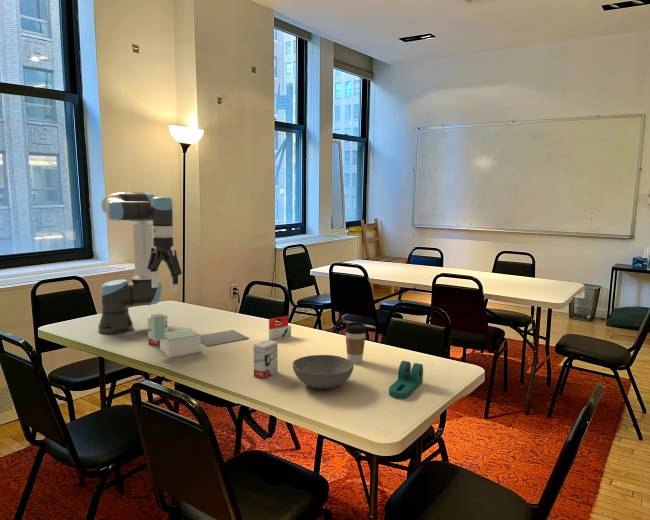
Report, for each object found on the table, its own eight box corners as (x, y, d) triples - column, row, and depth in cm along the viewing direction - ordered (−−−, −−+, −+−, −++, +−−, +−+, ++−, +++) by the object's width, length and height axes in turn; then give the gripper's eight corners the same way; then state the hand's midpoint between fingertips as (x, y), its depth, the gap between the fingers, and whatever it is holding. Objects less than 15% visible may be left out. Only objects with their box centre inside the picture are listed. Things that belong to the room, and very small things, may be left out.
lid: (148, 337, 201) (148, 313, 200) (189, 331, 212) (189, 307, 210) (157, 344, 193) (156, 319, 191) (199, 337, 203) (199, 313, 202)
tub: (160, 350, 205) (159, 334, 204) (190, 345, 213) (190, 329, 212) (169, 358, 196) (169, 341, 195) (200, 352, 204) (200, 335, 203)
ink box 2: (263, 379, 176) (263, 347, 174) (252, 376, 179) (252, 344, 177) (278, 372, 183) (278, 341, 182) (267, 369, 186) (267, 339, 184)
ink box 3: (291, 336, 228) (291, 316, 227) (271, 341, 221) (271, 320, 219) (288, 335, 230) (288, 315, 229) (268, 340, 223) (268, 319, 221)
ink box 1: (158, 345, 212) (157, 318, 211) (148, 344, 213) (147, 317, 211) (168, 339, 221) (167, 313, 219) (158, 338, 222) (157, 313, 220)
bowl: (282, 391, 166) (282, 368, 164) (305, 370, 185) (305, 350, 184) (342, 401, 158) (342, 377, 157) (360, 379, 178) (360, 357, 177)
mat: (193, 337, 224) (192, 336, 224) (233, 330, 236) (233, 329, 236) (207, 346, 212) (207, 345, 212) (249, 338, 224) (249, 337, 224)
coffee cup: (367, 359, 199) (368, 323, 197) (362, 366, 191) (363, 328, 189) (347, 356, 202) (348, 320, 199) (341, 363, 194) (342, 326, 192)
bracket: (404, 379, 179) (405, 358, 178) (422, 383, 176) (423, 361, 174) (385, 396, 163) (386, 373, 162) (405, 401, 160) (406, 377, 159)
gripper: (137, 234, 199) (139, 286, 202) (173, 239, 183) (174, 295, 186) (154, 233, 205) (155, 284, 208) (190, 238, 189) (191, 292, 192)
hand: (164, 289), depth 197 cm, fingers open, 13 cm apart
